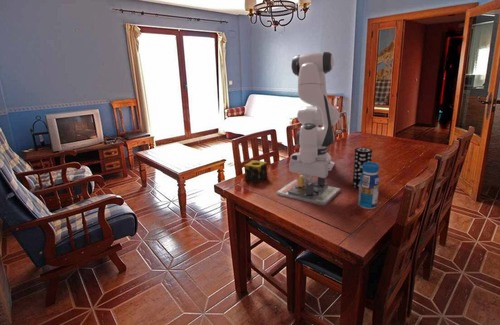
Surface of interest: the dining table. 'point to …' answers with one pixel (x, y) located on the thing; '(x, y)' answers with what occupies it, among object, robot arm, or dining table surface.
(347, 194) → the dining table surface
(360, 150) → the white-spotted black cylinder
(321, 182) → the breaker
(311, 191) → the breaker
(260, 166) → the candle
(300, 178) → the breaker
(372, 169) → the blue lidded canister
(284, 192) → the panel
